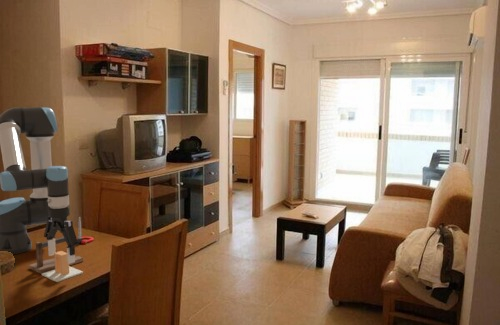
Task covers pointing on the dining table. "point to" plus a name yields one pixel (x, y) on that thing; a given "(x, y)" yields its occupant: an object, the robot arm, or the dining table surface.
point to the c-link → (61, 263)
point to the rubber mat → (59, 277)
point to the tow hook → (80, 239)
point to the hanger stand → (50, 263)
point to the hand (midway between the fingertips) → (61, 259)
